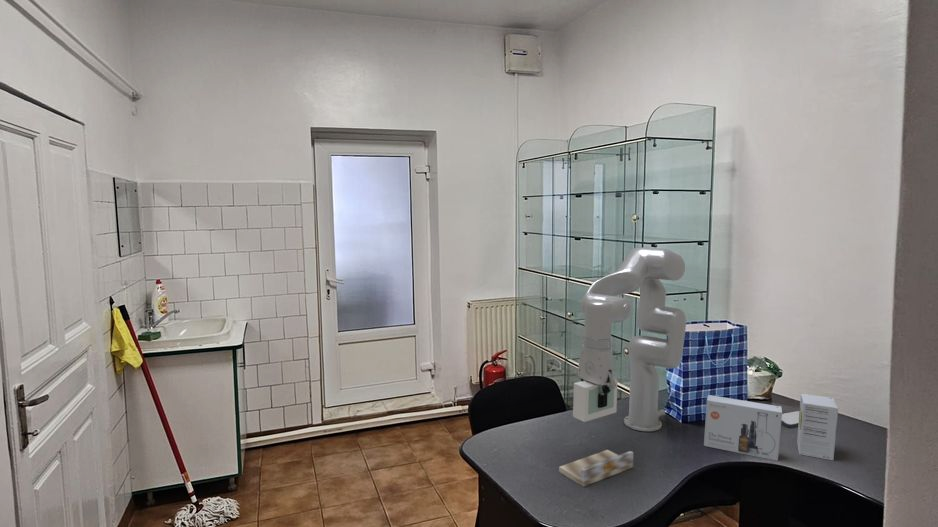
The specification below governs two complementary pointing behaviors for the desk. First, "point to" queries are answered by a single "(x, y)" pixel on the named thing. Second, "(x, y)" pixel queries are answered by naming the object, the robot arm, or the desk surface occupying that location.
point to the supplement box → (817, 426)
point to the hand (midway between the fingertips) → (595, 403)
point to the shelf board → (597, 467)
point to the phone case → (790, 419)
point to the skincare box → (743, 427)
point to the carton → (592, 401)
